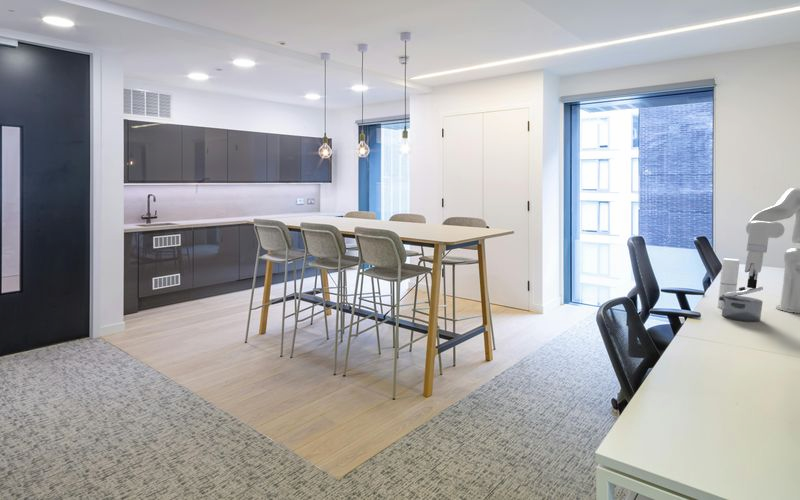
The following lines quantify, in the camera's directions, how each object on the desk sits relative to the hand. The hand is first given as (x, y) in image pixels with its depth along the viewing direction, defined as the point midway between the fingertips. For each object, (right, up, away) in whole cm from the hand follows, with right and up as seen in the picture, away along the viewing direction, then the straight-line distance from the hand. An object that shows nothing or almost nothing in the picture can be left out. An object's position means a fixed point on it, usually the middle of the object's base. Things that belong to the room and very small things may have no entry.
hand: (751, 287), depth 227 cm
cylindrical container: (+4, -12, +24) cm, 27 cm away
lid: (-2, -3, +3) cm, 4 cm away
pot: (-2, -15, +5) cm, 15 cm away
